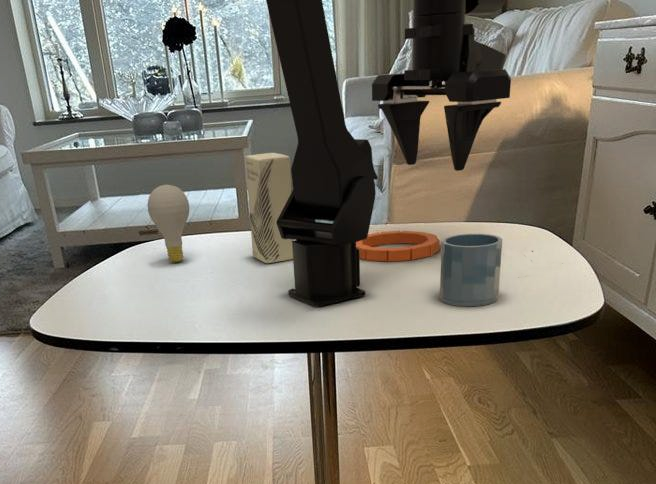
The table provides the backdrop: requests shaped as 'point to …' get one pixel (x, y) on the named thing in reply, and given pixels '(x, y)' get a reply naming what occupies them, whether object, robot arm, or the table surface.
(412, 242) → the ring
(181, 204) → the light bulb
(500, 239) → the cup
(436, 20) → the robot arm
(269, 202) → the box
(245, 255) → the table surface
